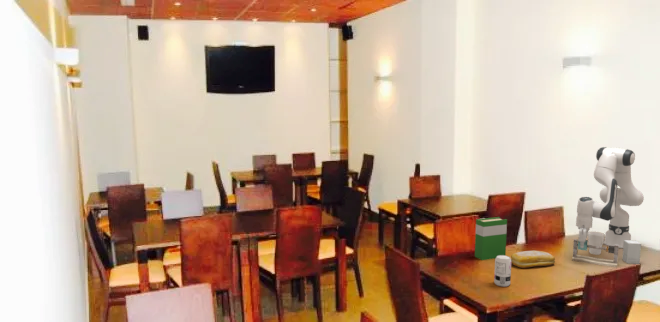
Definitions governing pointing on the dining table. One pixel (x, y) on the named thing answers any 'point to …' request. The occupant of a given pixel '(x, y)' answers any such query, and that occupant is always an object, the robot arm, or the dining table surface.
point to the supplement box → (631, 251)
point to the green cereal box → (490, 238)
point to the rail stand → (596, 260)
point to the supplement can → (502, 270)
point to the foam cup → (595, 241)
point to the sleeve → (584, 245)
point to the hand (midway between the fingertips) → (582, 245)
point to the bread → (532, 259)
